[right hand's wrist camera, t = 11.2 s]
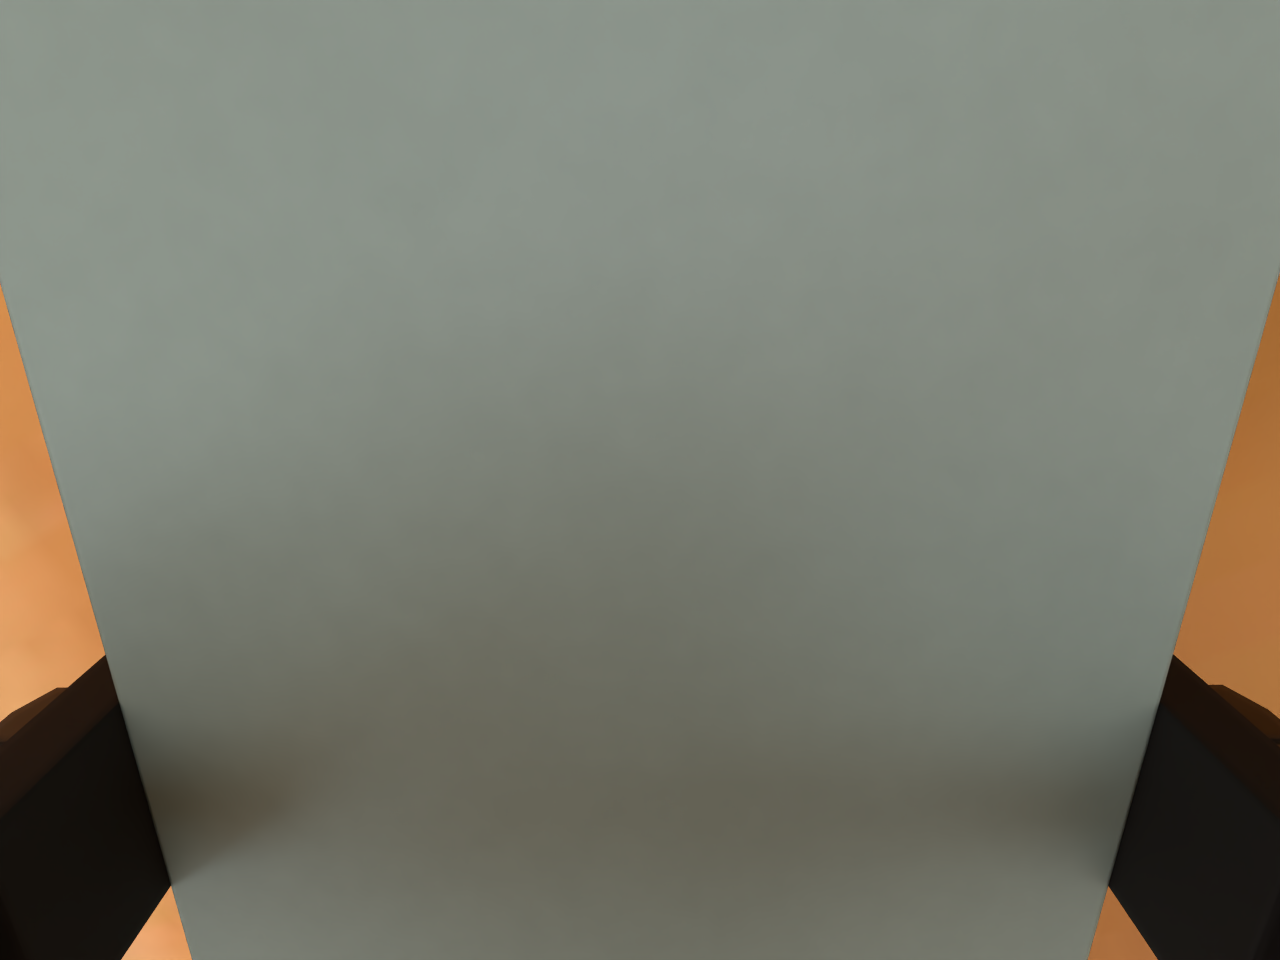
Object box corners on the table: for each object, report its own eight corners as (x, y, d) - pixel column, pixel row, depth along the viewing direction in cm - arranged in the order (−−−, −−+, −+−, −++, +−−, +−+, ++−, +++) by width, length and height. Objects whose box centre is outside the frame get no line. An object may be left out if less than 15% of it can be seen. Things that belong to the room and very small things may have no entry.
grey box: (362, 74, 16) (-124, -136, 6) (915, 73, 16) (1400, -139, 6) (425, 626, 21) (214, 1050, 10) (854, 625, 21) (1065, 1049, 10)
